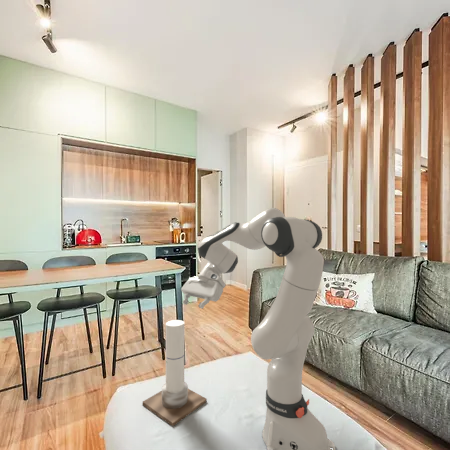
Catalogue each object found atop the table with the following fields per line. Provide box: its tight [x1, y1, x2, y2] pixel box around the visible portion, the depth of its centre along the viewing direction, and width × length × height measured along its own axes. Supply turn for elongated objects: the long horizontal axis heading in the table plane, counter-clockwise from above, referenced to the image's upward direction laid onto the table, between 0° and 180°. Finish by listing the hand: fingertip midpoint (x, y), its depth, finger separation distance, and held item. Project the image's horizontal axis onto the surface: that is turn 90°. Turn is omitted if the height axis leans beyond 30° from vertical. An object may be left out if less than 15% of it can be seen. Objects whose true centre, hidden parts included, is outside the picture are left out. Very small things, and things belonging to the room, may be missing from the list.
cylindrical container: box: [165, 319, 185, 393], centre depth 105 cm, size 7×7×25 cm
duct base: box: [142, 381, 208, 427], centre depth 105 cm, size 18×17×6 cm
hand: (192, 305), depth 113 cm, fingers open, 8 cm apart
